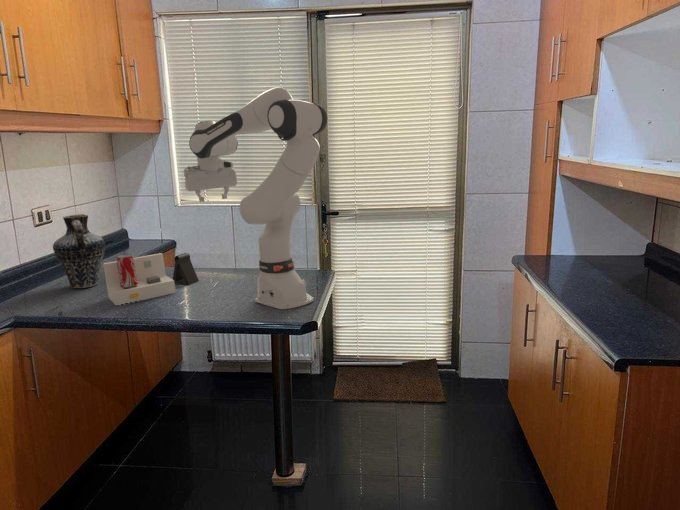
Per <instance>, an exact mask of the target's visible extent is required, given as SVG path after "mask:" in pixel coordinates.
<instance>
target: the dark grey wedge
mask: <svg viewBox="0 0 680 510" xmlns="http://www.w3.org/2000/svg"><path fill="white" fill-rule="evenodd" d="M195 270H196V269H194V266H193V263H192V260H191V255H190V253H189V252H184V253H181V254H179V255H175V256H174V269H173V274H172V279H173V280H174V283H175V285H181V286H190V285H193V284H195V283H197V282H199V278H198V275H197V273H196V271H195Z"/></svg>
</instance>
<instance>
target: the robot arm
mask: <svg viewBox="0 0 680 510" xmlns="http://www.w3.org/2000/svg"><path fill="white" fill-rule="evenodd" d="M327 123H328V114H327V111H326V110H325V108H324V107H323V106H321V105H320V104H318V103H316V102H313V101H312V102H311V101H304V100H301V99H294V98H293V96H292V94H291V92H289V91H288V90H287V89H286V88H284V87H280V86H275V87H272V88H270V89H268V90H266V91H264V92H262V93H261V94H258V96H257V97H255V98H253V99H252V100H250V102H248V103H247V104H245V105H244V106H242V107H240V108H239V109H237V110H236V111H235V110H234V112H232V113H230V114H229V115H227V116H225V117H223V118H221V119H220V120H218V121H213V120H205V121H200V122H197V123H196V124H195V126H194V131H193V132H192V134H191V136H190V138H189V143H188V144H189V148H190V150H191V152H192V153H193V154H194V155H195V156H196V160H197V165H190V166H189V165H188V166H187V167H185V168H184V170H183V174H184V178H185V179H184V185H185V187H184V188H185V190H187V191H188V192H193V191H195V192H194V193H195V194H196V195H197V197H198V201H199V202H200V203H202V202H205V196H202V195H201V193H202V192H201V191H203V190H204V191H205V190H213V189H214V190H215V189H223V190H224V192H223V193H222V194H221V199H222V200H226V199H228V193H229V191H230V187H236V186H237V185H238V178H237V172H236V171H235V168H234V162H232V161H229V160H225V159H221V157H223V156H230V155H233V154H234V153H236V151H237V149H238V144H239V142H238V141H239V140H238V137H237V136H238V135H239V136H240V135H246V134H249V135H250V134H260V133H263V132H267V131H269V130H272V131H273V132H274V133H275V134H276V135H277V137H278V139H279V140H281V141H283V142H286V146H285V149H284V150H283V151H282V153H281V155H280V157H279V159H278V161H277V162H276V164H275V165H274V167H273V168H272V171H271V172H270V173H269V174H268V176H267V177H266V178H265V179H264V180H263V181H262V182H261V183H260V184H259V185H258V186H257V187H256V188H255V189H254V190H253V191H252V192H251V193H250V194H248V195H246V196H245V197H243V198H242V199H241V200H240V203H239V209H238V210H239V215H240V216H241V217H240V218H241V219H242V220H243V221H244V222H245V223H246V224H248V225H258V226H259V225H260V226H261V225H265V227H264V229H263V232H262V233H261V234H260V236H259V237H258V253H259V254H258V255H259V260H258V267H259V271H260V273H259V276H258V277H257V297H255V299H254V302H255V303H259V304H261V305H265V306H267V307H270V308H275V309H278V310H287V309H294V308H297V307H298V308H299V307H302V306H305V305H308V304H310V303H313V301H314V300H315V299H314V297H313V296H312V295H311V294H309V293H307V289H306V288H307V287H306V280H305V279H302V278H301V277H300V276H299V274H298V273H297V272H296V270H295V262H294V261H293V259H292V258H293V257H291V241H290V240H291V230H292V226H293V222H294V219H295V216H296V215H297V213H298V212H299V211H300V208H301V198H300V196H299V194H298V192H299V191H300V189H301V188H302V187H303V185H304V183H305V181H307V178H308V176H309V175H310V173H311V172H312V170H313V168H314V166H315V164H316V163H317V160H318V158H319V154H320V152H321V146H320V145H321V144H320V143H319V141H318V139H317V138H316V137H314V136H315V135H318V134H320V133H322V132H323V131H324V130H325V128H326V127H327Z"/></svg>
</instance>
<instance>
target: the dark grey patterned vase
mask: <svg viewBox="0 0 680 510" xmlns="http://www.w3.org/2000/svg"><path fill="white" fill-rule="evenodd" d="M62 218H63V221H64V224H65V225H66V231H65V234H64V235H63V236H61V237H60V238H57V239H56V241H54V243H53V244H52V250H53V252H54V255H55V257H56V260H57V261H58V263H59V265H60V266H61V267H62V269H63V271H64V273H65V275H66V277H67V279H68V282H69V285H70V288H72V289H85V288H90V287H93V286H96V285H98V283H99V279H100V277H99V275H100V271H101V267H102V264H103V258H104V256H105V252H106V242H105V240H104V238H103V237H101V236H100V235H97V234H95V233H92V232H90V230H89V228H88V220H89V215H88V214H85V213H84V214H81V213H79V214H71V215H65V216H62Z"/></svg>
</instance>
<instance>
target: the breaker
mask: <svg viewBox="0 0 680 510" xmlns="http://www.w3.org/2000/svg"><path fill="white" fill-rule="evenodd" d="M157 282H160V278H159V277H158V276H153V277H149V278H147V283H148V284H153V283H157Z"/></svg>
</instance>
